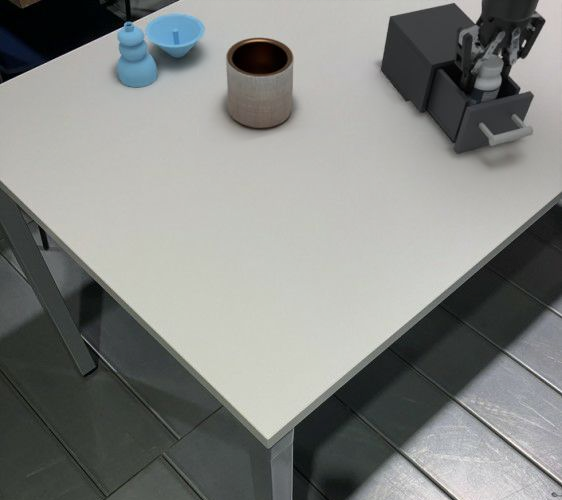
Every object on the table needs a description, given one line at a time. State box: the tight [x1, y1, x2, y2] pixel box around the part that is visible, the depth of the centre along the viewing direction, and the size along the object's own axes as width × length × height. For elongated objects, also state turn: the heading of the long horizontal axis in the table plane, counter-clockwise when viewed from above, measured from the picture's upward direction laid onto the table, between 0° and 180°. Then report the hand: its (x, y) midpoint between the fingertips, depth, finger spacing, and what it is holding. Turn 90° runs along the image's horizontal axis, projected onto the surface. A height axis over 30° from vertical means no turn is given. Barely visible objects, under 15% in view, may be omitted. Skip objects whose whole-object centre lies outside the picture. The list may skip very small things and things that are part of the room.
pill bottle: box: [463, 54, 503, 107], centre depth 98 cm, size 5×5×9 cm
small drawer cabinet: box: [380, 2, 501, 114], centre depth 106 cm, size 15×13×10 cm
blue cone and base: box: [116, 13, 206, 88], centre depth 108 cm, size 18×10×9 cm, turn 136°
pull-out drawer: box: [425, 59, 535, 155], centre depth 100 cm, size 18×11×8 cm, turn 22°
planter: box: [225, 37, 295, 129], centre depth 102 cm, size 11×11×10 cm
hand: (481, 87), depth 98 cm, fingers closed on pill bottle, 5 cm apart
